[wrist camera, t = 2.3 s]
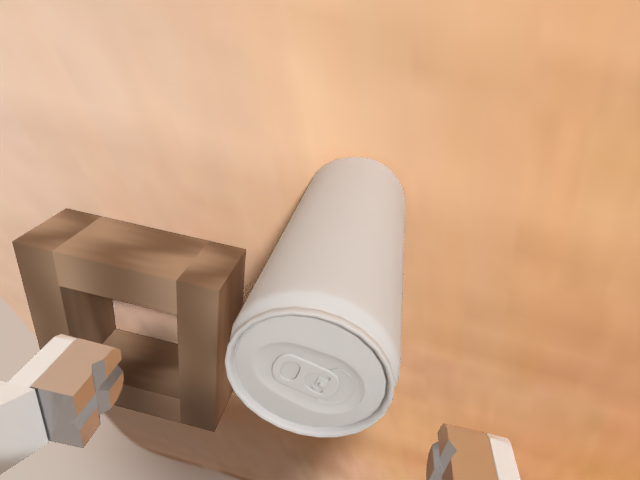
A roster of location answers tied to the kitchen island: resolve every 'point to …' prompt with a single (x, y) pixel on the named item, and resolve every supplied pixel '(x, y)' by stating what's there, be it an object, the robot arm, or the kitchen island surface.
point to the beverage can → (327, 308)
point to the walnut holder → (144, 290)
